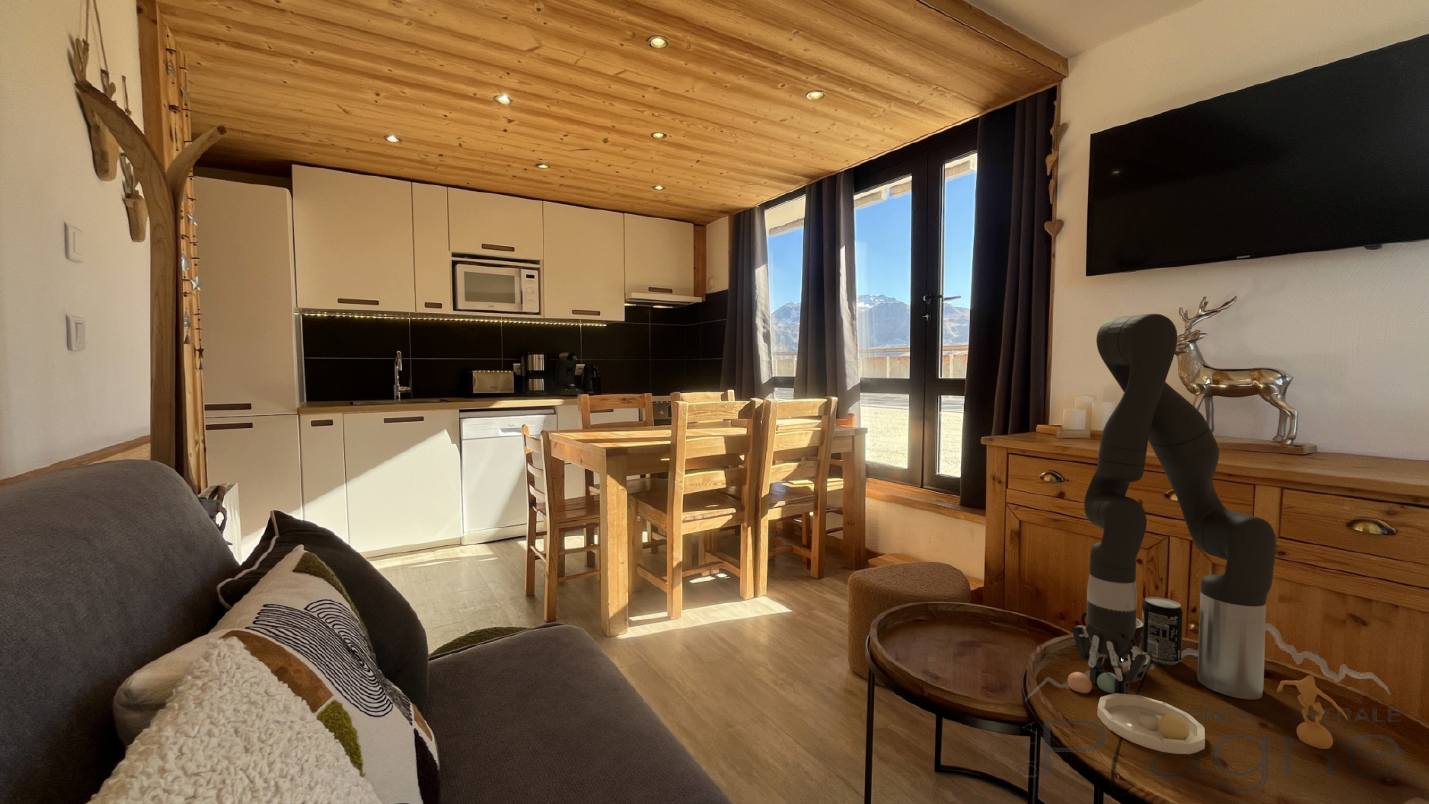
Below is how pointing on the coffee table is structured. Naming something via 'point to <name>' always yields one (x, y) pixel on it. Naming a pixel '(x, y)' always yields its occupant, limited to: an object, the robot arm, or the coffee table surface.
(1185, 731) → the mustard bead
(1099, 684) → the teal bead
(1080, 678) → the pink egg
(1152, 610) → the beverage can
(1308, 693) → the figurine
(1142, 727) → the ring dish
